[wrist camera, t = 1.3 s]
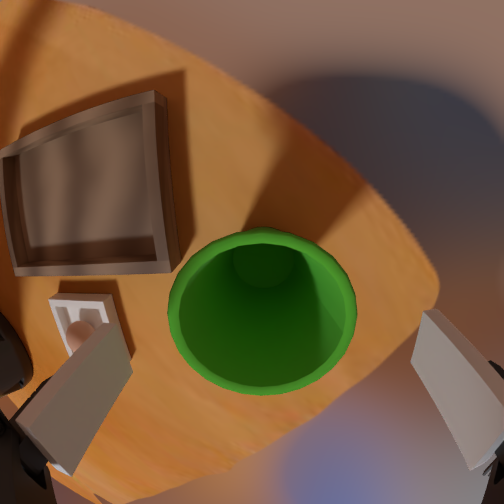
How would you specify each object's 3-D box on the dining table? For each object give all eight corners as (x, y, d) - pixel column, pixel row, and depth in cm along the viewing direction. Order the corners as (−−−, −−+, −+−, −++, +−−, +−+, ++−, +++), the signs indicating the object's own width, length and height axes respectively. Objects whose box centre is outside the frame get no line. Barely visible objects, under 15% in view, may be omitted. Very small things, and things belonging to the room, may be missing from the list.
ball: (83, 341, 26) (67, 358, 23) (73, 313, 25) (55, 329, 22) (107, 344, 26) (91, 363, 22) (97, 315, 25) (79, 332, 21)
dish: (78, 352, 27) (71, 360, 26) (57, 292, 25) (48, 299, 23) (131, 359, 27) (125, 369, 25) (111, 293, 25) (102, 301, 23)
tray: (30, 268, 25) (15, 276, 22) (14, 150, 21) (-2, 151, 18) (181, 261, 23) (171, 272, 21) (166, 98, 20) (154, 89, 17)
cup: (213, 196, 22) (166, 219, 11) (326, 210, 22) (379, 246, 11) (206, 299, 24) (169, 382, 14) (307, 311, 24) (331, 400, 14)
